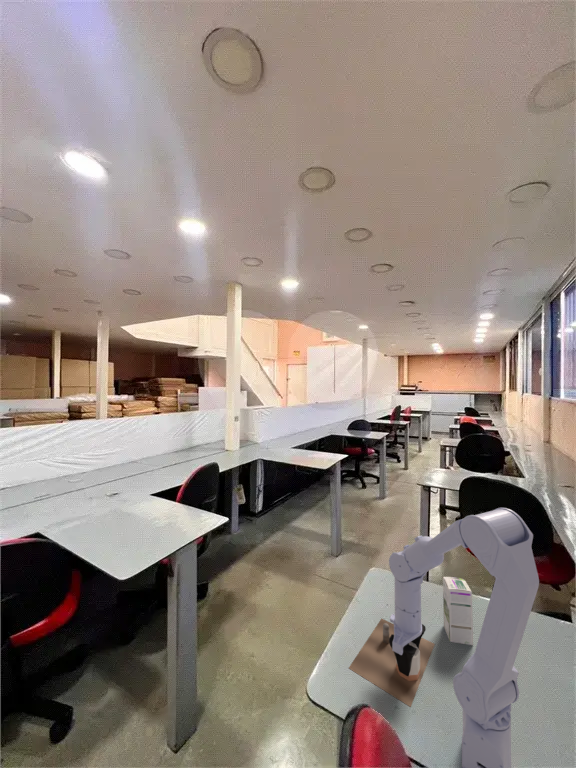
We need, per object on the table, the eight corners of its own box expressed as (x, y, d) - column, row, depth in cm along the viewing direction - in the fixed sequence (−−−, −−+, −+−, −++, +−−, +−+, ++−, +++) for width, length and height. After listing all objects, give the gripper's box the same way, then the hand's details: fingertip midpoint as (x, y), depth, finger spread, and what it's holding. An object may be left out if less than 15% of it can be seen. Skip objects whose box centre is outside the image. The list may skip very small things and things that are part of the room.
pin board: (410, 712, 62) (410, 684, 62) (348, 672, 71) (348, 648, 71) (434, 647, 78) (434, 626, 78) (381, 621, 87) (381, 602, 87)
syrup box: (474, 649, 78) (473, 591, 78) (449, 645, 79) (448, 588, 79) (466, 632, 83) (465, 578, 84) (442, 628, 84) (442, 575, 85)
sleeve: (415, 684, 67) (415, 661, 67) (393, 672, 70) (393, 649, 70) (421, 669, 71) (421, 647, 71) (400, 657, 74) (400, 636, 74)
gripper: (400, 582, 79) (400, 636, 79) (378, 614, 68) (378, 677, 67) (429, 593, 75) (430, 650, 74) (411, 629, 63) (412, 697, 63)
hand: (407, 664), depth 71 cm, fingers closed on sleeve, 5 cm apart
